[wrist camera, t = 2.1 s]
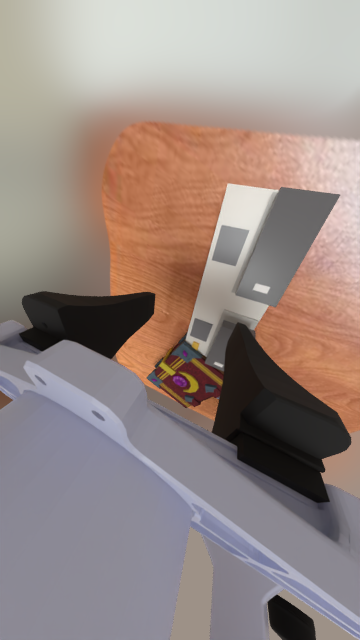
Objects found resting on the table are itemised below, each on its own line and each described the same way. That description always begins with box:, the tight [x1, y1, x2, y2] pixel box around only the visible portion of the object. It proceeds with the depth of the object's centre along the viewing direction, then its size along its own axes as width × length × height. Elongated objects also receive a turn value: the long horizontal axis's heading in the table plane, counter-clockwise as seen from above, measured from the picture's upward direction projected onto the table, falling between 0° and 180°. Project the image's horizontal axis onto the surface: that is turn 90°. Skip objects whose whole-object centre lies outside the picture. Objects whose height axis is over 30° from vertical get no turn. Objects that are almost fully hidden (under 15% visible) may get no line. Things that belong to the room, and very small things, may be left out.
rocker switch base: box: [185, 184, 279, 357], centre depth 18 cm, size 8×20×3 cm, turn 169°
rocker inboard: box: [205, 320, 255, 371], centre depth 18 cm, size 4×8×1 cm, turn 169°
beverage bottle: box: [268, 595, 316, 640], centre depth 21 cm, size 6×7×20 cm
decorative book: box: [147, 334, 224, 408], centre depth 28 cm, size 11×16×5 cm
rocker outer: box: [235, 187, 340, 307], centre depth 11 cm, size 4×8×1 cm, turn 169°
